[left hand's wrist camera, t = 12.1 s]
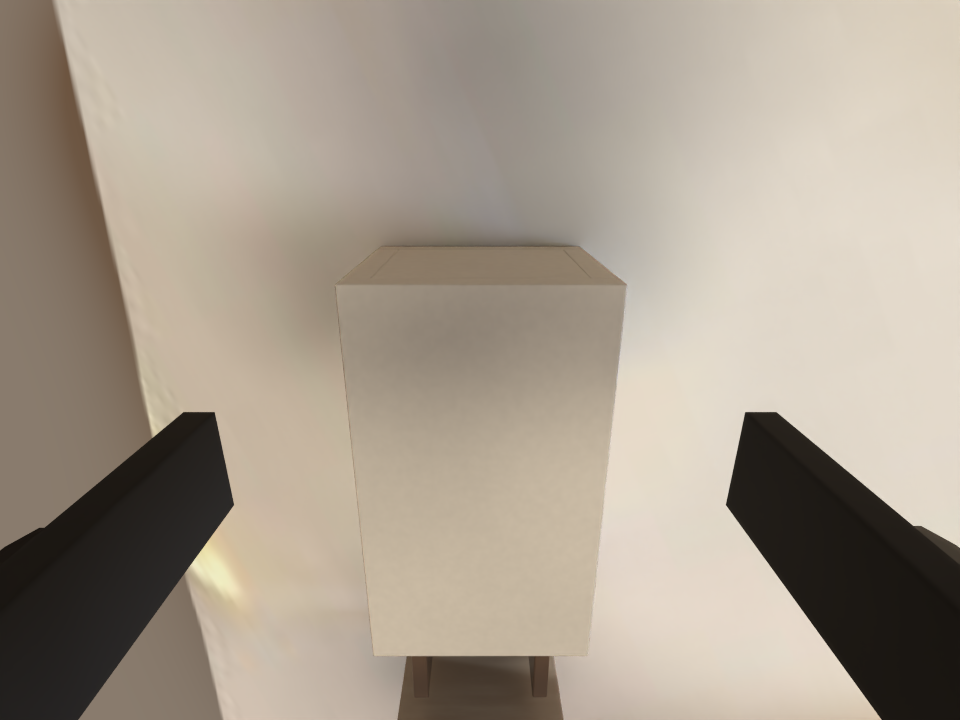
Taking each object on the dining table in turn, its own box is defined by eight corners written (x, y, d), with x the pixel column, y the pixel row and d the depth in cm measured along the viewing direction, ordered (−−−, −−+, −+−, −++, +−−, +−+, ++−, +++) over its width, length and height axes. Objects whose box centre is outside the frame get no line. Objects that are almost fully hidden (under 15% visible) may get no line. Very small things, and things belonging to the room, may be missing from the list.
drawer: (543, 688, 36) (557, 800, 30) (416, 688, 36) (403, 800, 30) (561, 410, 28) (585, 482, 22) (399, 410, 28) (375, 482, 22)
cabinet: (560, 531, 33) (588, 656, 24) (400, 531, 33) (373, 656, 24) (580, 246, 26) (628, 284, 18) (380, 246, 26) (334, 284, 18)
